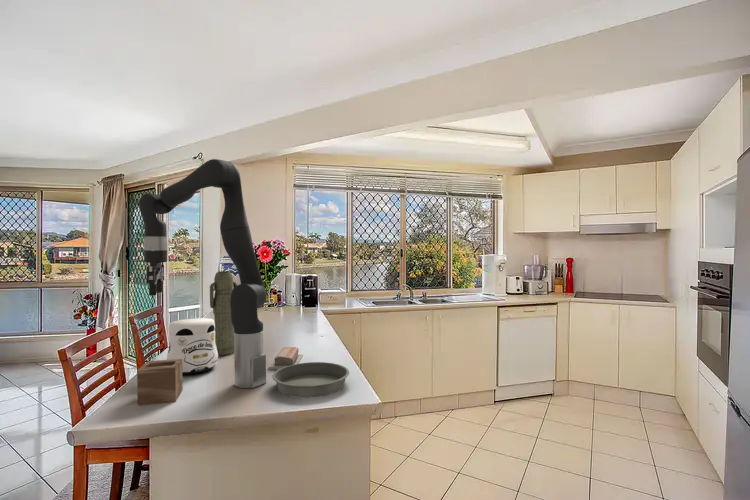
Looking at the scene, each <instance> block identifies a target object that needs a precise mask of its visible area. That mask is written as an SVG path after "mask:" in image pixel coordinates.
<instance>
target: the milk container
mask: <svg viewBox="0 0 750 500" xmlns="http://www.w3.org/2000/svg"><path fill="white" fill-rule="evenodd" d="M168 343H169V344H168V351H167V355H166V359H165V360H171V359H182V374H183V375H193V374H199V373H204V372H207V371H210V370H212V369H213V368H215V367H216V365H217V363H218V361H219V360H218V359H219V356H218V351H217V348H216V344H215V322H214V318H210V317H209V318H207V317H202V318H201V317H200V318H199V317H198V318H185V319H178V320H175V321H174V320H173V321H171V322H170V323H169V325H168Z"/></svg>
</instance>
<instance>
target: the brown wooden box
mask: <svg viewBox="0 0 750 500" xmlns="http://www.w3.org/2000/svg"><path fill="white" fill-rule="evenodd" d="M136 375H137V376H136V379H137V380H136V383H137V385H136V386H137V387H136V388H137V391H136V392H137V394H136V396H137V406H146V405H154V404H164V403H167V404H168V403H176V402H177V400H178V399H179V397H180V395H181V394H182V392H183V391H184V390H183V389H184V386H183V384H184V381H183V377H184V376H183V375H184V374H182V359H171V360H166V359H161V360H147V361H146V362H144V363H143V365H141V366H140V367H139V368H138V369H137V370H136Z"/></svg>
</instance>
